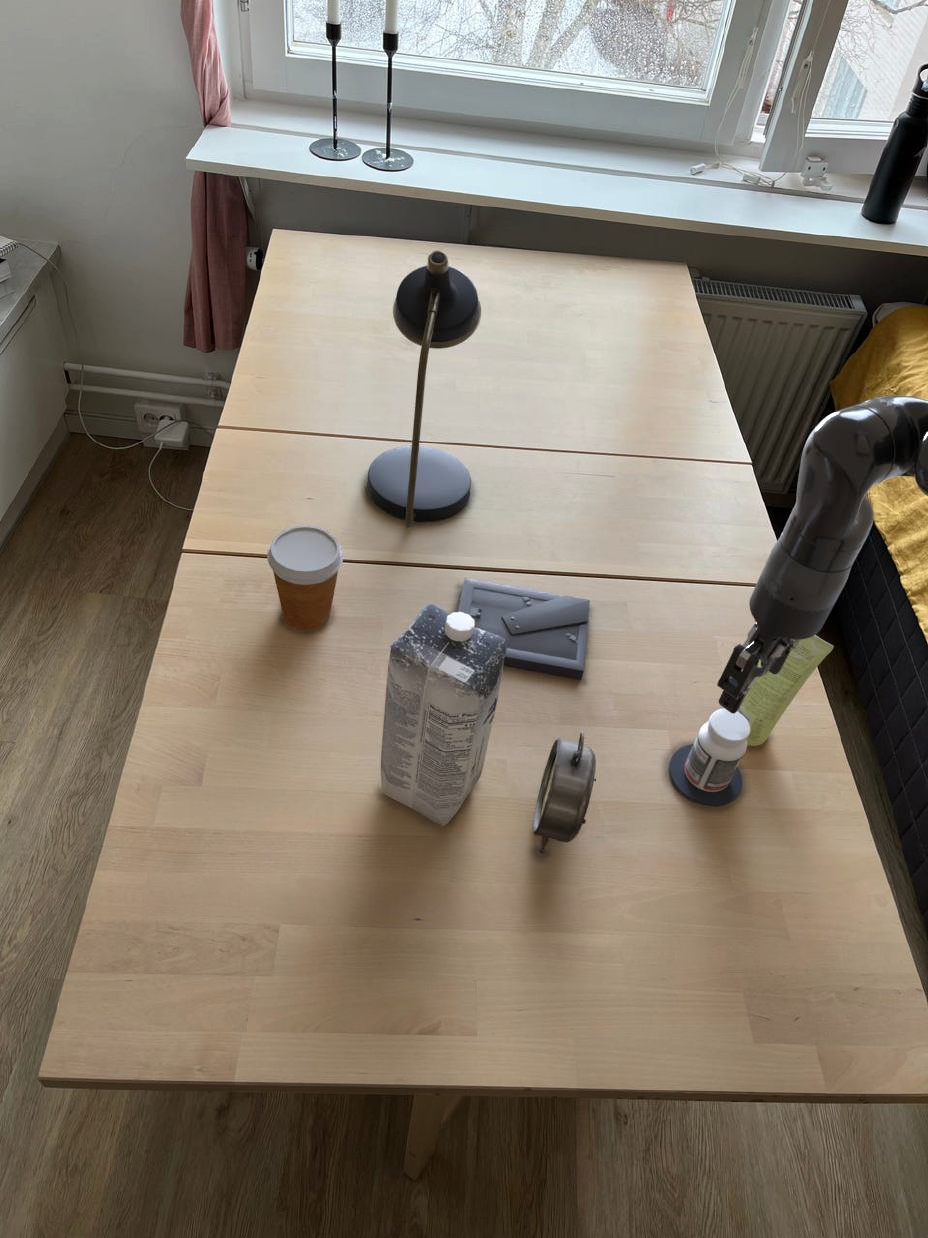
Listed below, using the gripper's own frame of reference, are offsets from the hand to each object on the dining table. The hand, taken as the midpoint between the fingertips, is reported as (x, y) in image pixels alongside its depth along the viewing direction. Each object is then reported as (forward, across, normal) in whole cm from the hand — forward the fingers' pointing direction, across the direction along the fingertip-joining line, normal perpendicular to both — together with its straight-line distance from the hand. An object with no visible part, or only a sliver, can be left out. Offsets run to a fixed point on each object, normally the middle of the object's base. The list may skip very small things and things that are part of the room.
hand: (749, 687), depth 106 cm
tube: (+17, +10, 0) cm, 20 cm away
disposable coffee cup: (+17, -20, +52) cm, 58 cm away
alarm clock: (+17, -19, +8) cm, 27 cm away
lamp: (+17, +9, +61) cm, 64 cm away
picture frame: (+17, 0, +31) cm, 35 cm away
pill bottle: (+17, 0, 0) cm, 17 cm away
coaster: (+17, 0, 0) cm, 17 cm away
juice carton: (+17, -27, +21) cm, 38 cm away
